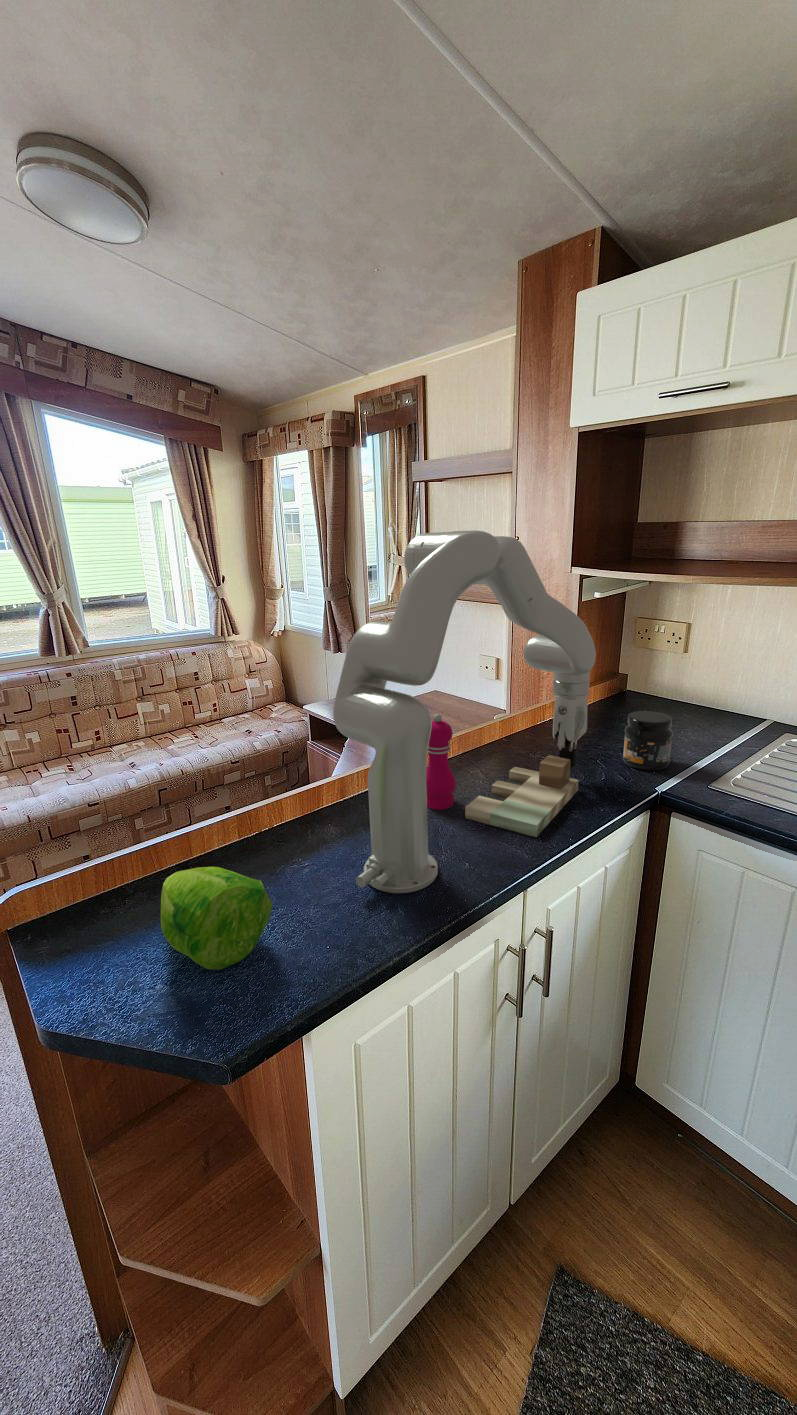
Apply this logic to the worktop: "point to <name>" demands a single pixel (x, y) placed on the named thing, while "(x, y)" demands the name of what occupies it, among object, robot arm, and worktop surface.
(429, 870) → the robot arm
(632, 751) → the supplement container
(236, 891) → the lettuce
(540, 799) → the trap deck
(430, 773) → the pepper mill
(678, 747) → the worktop surface
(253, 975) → the worktop surface
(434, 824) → the worktop surface
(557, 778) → the walnut block
